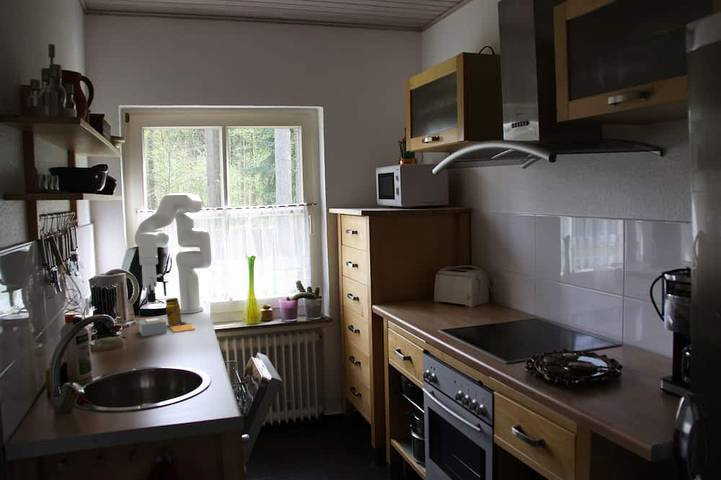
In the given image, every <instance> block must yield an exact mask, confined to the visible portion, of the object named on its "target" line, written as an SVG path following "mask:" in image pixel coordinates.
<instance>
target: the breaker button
mask: <svg viewBox="0 0 721 480" xmlns="http://www.w3.org/2000/svg"><path fill="white" fill-rule="evenodd" d="M158 318H159V317H153V318H147V319H144V320H145V321H146V323H152V322H159V319H158Z"/></svg>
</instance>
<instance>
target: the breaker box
mask: <svg viewBox="0 0 721 480" xmlns="http://www.w3.org/2000/svg"><path fill="white" fill-rule="evenodd" d="M157 318H158V319H159V322H152V323H146V321H145V319H141V320H138V329H139V330H138V332H139V333H140V335H141V337H147V336H155V335H163V334H167V321H166V320H165V319H164V318H163V317H157Z"/></svg>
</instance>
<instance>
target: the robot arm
mask: <svg viewBox="0 0 721 480" xmlns="http://www.w3.org/2000/svg"><path fill="white" fill-rule="evenodd" d="M202 206H203V201H202V199H201V197H200V196H199V195H195V194H193V193H168V194H165V195H164V196H163V197H162V199H161V201H160V203H159V205H158V207H157V210H156V212H155V213H154V214H152V215H150V216H148V217H147V218H145V219H144V220H143V221H141V223H140V224H139V226H138V228H137V230H136V232H135V235H134V243H135V245H136V246H137V247H138V256H139V265H140V266H141V274H142V275H141V277H142V279H141V280H142V286H143V287H144V288H145V289H146V295H147V296H146V297H147V298H146V299H147V303H148V304H151V303H157V302H156V301H157V299H156V289H155V287H157V286H158V282H157V281H158V280H157V267H156V265H158V264H159V257H158V255H159V254H158V248H163V247H165V246H166V245H167V244H168V243H169V240H170V239H169V238H170V237H169V234H168V233H167V231H165V230H162V229H163V228H166V227H168V226H170V225H171V224H172V223H173V221H174V220H175V221H176V222H175V223H176V233H177V244H178V245H179V247H181V248H184V249H185V248H188V249H185V250H180V251H179V252H177V254H176V255H175V262H176V266H177V272H178V283H179V298H180V299H179V302H180V303H179V306H180V313H181V314H194V313H195V314H196V313H200V312H202V311H204V308H203V307H202V306H200V304H201V303H200V301H201V300H200V285H199V283H200V282H199V276H198V273H197V272H196V271H195V269H208V268H210V267H211V265H212V251H211V250H212V248H211V237H210V233H209V231H208V230H207V229H206V228H195V222H194V217H193V216H192V214H193V213H196V214H197V213H199V212H200V211H201V209H202ZM160 229H161V230H160ZM189 248H198V249H189Z"/></svg>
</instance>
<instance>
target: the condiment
mask: <svg viewBox="0 0 721 480" xmlns="http://www.w3.org/2000/svg"><path fill="white" fill-rule="evenodd" d="M180 309H181V305H180V303H179V299H178V298H177V297H173V298H168V299H166V300H165V310H166V311H165V312H166V318H167V324H168V325H167V324H166V327H171V326H179V325H184V323H185V324H186V323H187V322H188V320H187V321H182V320H183V319H182V313H180Z"/></svg>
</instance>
